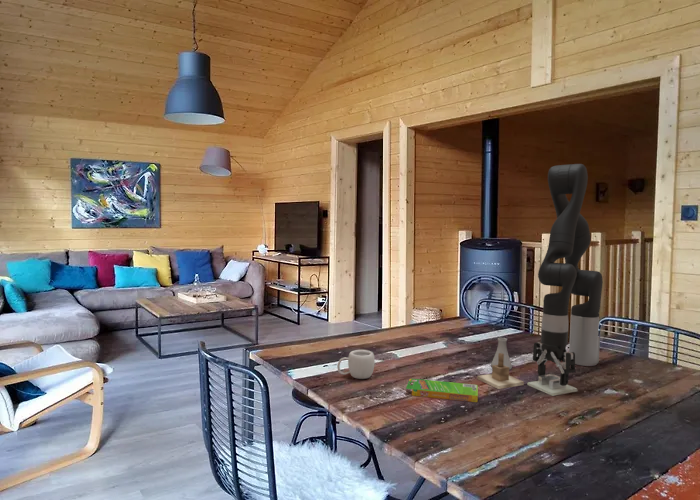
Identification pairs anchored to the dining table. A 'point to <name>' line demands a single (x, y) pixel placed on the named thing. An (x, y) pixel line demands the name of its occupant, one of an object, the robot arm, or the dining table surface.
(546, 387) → the coaster
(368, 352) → the mug
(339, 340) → the dining table surface
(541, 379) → the c link
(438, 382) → the game box
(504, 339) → the flask
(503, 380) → the post stand
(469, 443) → the dining table surface
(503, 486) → the dining table surface
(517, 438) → the dining table surface
